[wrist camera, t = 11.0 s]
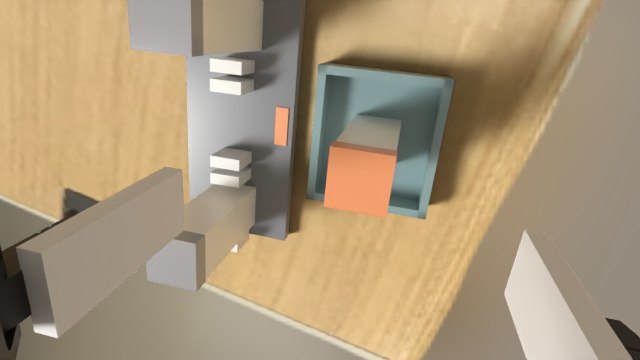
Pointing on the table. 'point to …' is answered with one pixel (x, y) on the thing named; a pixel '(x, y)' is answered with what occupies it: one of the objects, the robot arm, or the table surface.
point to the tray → (387, 102)
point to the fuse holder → (250, 118)
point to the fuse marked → (363, 166)
